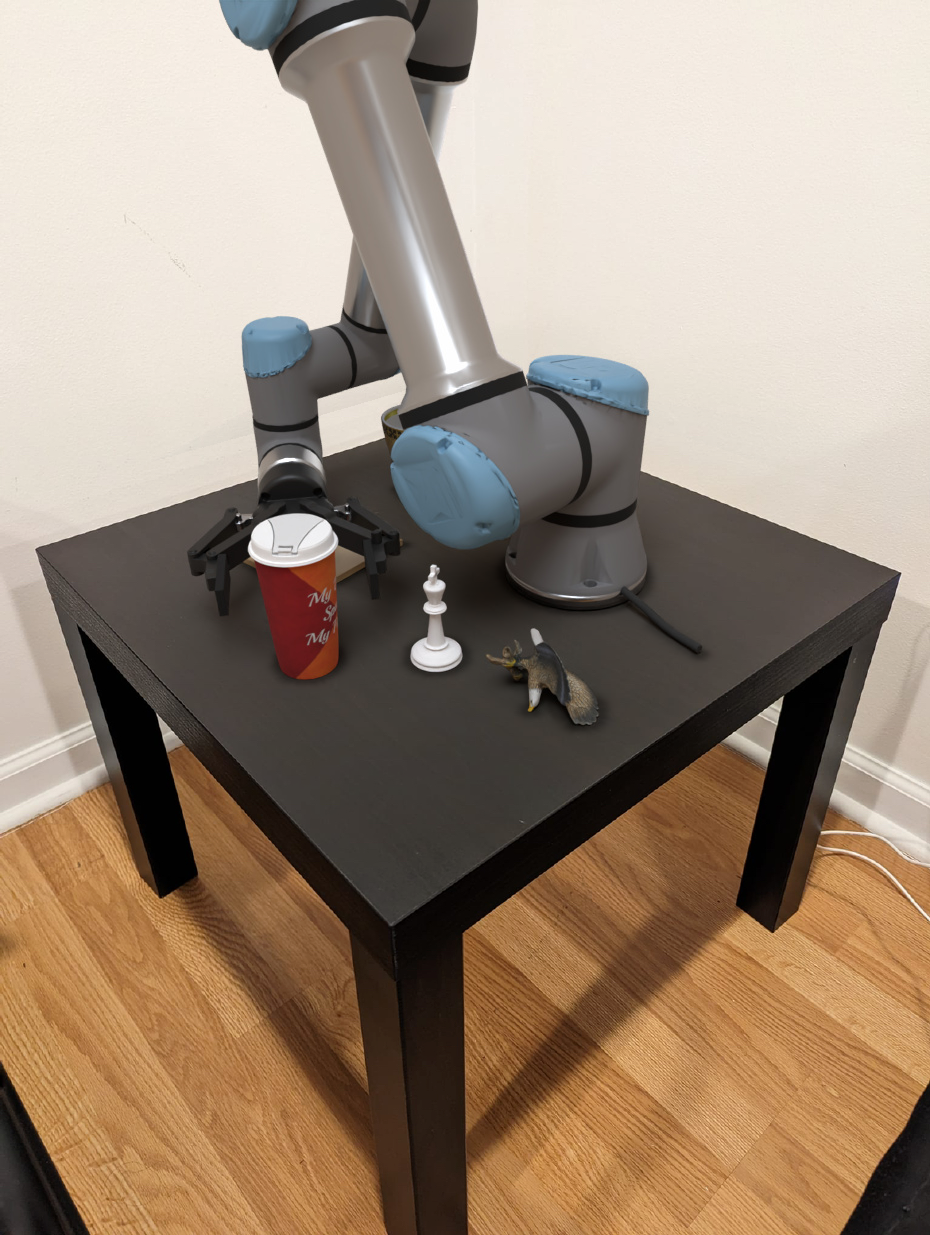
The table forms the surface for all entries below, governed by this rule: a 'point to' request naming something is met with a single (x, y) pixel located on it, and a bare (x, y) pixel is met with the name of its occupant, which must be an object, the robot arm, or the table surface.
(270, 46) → the robot arm
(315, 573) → the paper cup
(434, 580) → the chess piece
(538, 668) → the eagle figurine
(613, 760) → the table surface
